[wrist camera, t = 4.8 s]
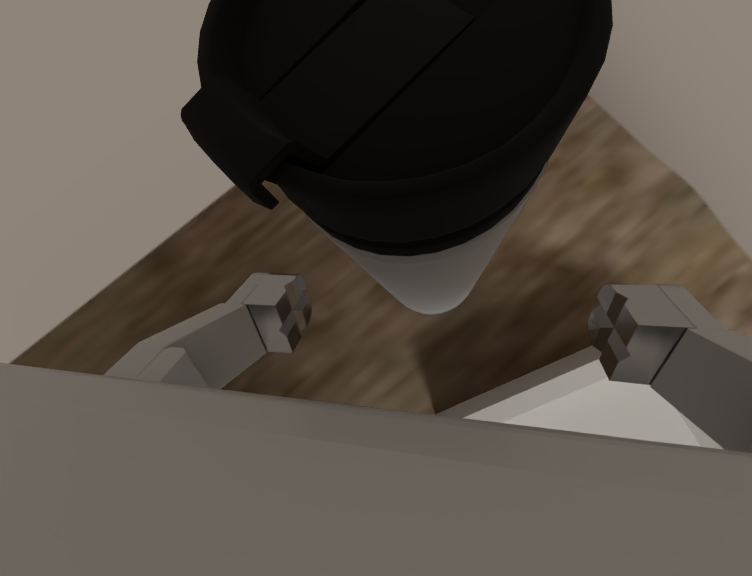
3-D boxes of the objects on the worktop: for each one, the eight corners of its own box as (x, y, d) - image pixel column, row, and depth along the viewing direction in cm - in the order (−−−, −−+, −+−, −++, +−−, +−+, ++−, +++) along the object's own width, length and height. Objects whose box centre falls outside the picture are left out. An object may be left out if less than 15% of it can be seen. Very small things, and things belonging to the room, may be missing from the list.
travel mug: (369, 277, 24) (92, 43, 5) (429, 216, 24) (384, -276, 5) (428, 336, 23) (356, 324, 3) (493, 271, 23) (805, -132, 3)
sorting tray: (788, 562, 17) (889, 627, 13) (543, 644, 19) (569, 724, 15) (633, 326, 20) (678, 324, 16) (435, 414, 22) (434, 430, 18)
